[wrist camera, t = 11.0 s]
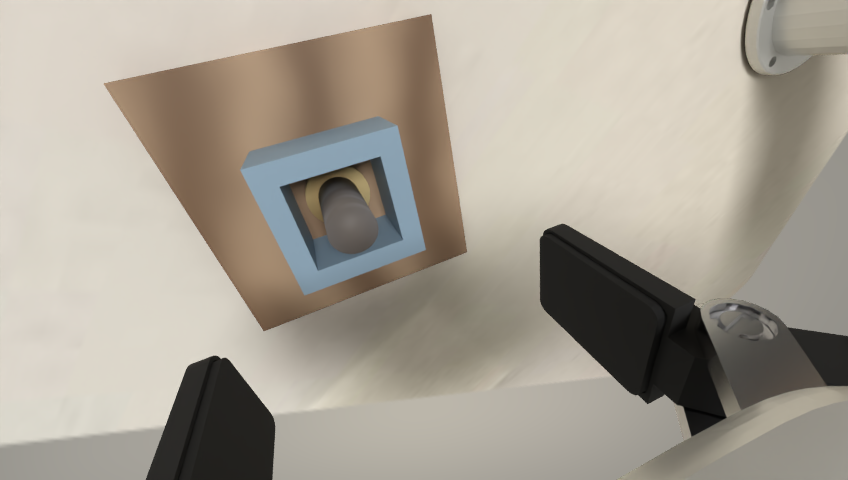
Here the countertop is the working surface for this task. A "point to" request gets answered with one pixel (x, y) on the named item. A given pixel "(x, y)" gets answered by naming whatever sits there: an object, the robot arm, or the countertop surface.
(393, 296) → the countertop surface
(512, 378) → the countertop surface
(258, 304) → the post board
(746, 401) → the robot arm
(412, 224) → the slate ring
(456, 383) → the countertop surface
